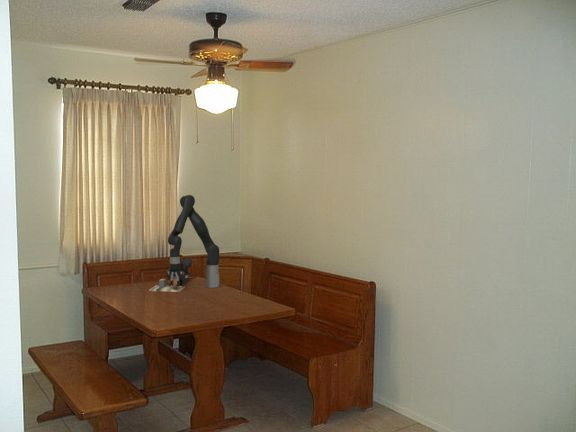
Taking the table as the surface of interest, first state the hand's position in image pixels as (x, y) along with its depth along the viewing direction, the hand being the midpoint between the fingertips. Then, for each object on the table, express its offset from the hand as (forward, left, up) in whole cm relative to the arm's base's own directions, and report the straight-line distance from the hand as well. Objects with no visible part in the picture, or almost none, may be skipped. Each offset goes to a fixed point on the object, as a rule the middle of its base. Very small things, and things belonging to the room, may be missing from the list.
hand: (175, 285), depth 402 cm
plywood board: (+7, -5, -4) cm, 10 cm away
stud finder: (+12, -9, -3) cm, 15 cm away
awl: (0, 0, -2) cm, 2 cm away
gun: (+3, -25, -4) cm, 25 cm away
